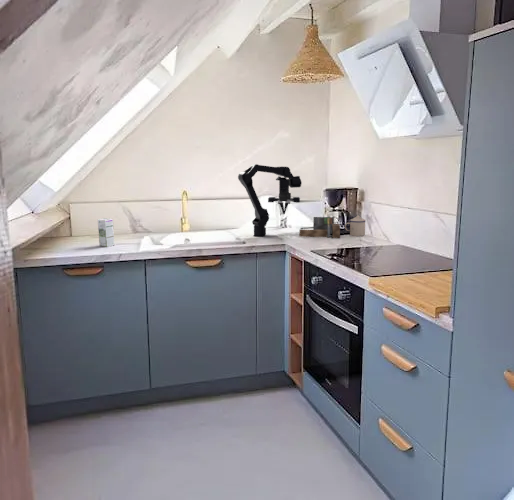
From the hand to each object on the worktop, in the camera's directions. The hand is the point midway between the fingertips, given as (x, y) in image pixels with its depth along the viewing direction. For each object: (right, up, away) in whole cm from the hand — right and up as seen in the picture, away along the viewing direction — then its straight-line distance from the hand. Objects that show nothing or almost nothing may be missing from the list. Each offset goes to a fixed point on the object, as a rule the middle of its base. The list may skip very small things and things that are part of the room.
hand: (284, 214), depth 301 cm
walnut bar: (+17, -14, -8) cm, 23 cm away
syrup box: (-96, -20, -34) cm, 104 cm away
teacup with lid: (+42, -13, -5) cm, 44 cm away
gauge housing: (+24, -13, -6) cm, 28 cm away
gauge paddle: (+26, -13, -7) cm, 29 cm away
